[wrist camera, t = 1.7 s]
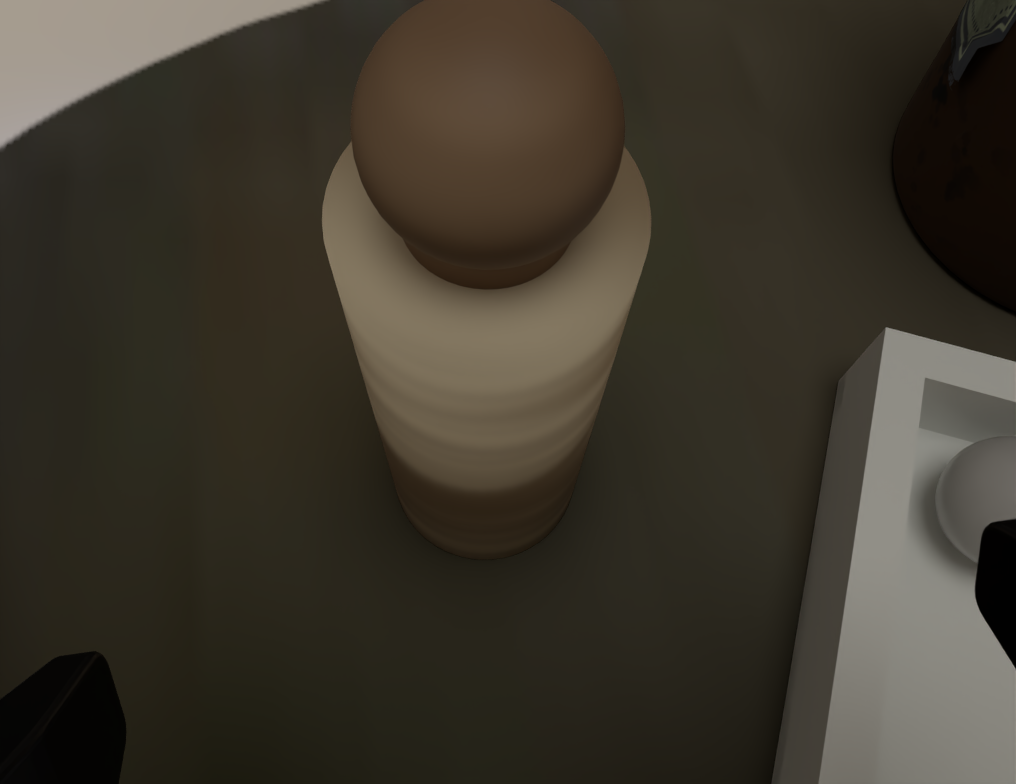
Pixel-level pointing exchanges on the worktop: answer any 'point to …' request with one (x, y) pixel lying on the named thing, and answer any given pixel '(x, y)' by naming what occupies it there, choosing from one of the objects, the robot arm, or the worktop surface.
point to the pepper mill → (486, 260)
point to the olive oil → (966, 151)
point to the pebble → (977, 492)
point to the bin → (899, 585)
